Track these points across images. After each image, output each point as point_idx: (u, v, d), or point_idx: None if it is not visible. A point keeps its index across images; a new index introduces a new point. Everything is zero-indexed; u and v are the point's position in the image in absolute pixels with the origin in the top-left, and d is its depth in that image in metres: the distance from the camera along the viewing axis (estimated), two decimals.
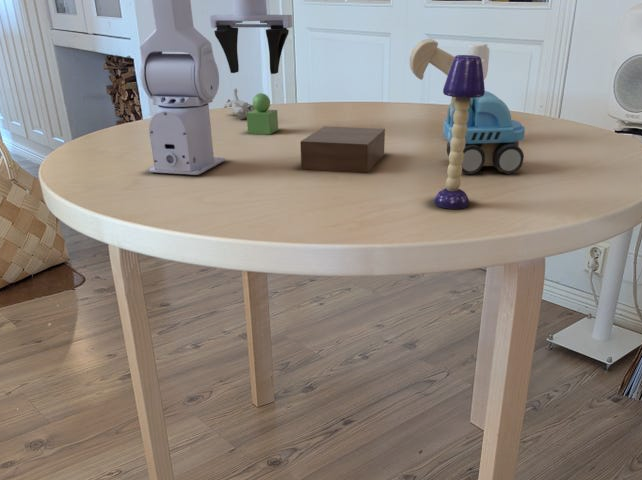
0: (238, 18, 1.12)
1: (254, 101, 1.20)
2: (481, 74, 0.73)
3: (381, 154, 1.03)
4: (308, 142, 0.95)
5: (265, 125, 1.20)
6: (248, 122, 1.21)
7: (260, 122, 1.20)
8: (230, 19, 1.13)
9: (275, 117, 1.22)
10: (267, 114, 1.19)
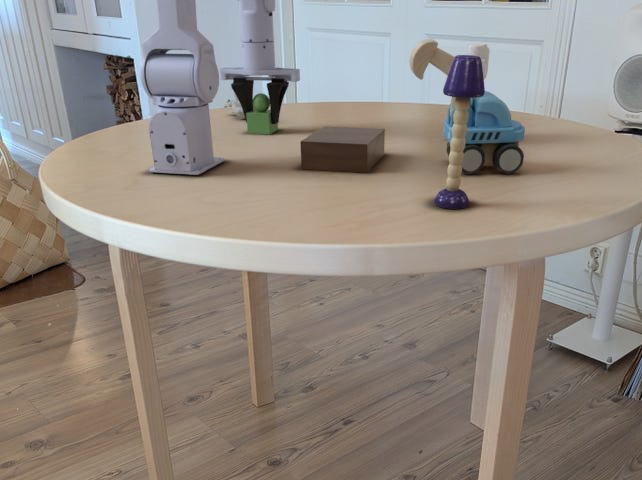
0: (247, 72, 1.16)
1: (254, 101, 1.20)
2: (481, 74, 0.73)
3: (381, 154, 1.03)
4: (308, 142, 0.95)
5: (265, 125, 1.20)
6: (248, 122, 1.21)
7: (259, 122, 1.20)
8: (240, 73, 1.17)
9: None
10: (266, 114, 1.19)
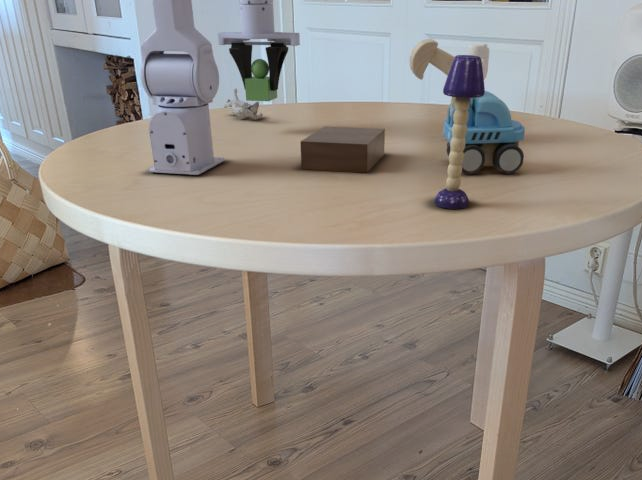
0: (246, 36, 1.13)
1: (252, 67, 1.16)
2: (481, 74, 0.73)
3: (381, 154, 1.03)
4: (308, 142, 0.95)
5: (264, 92, 1.17)
6: (246, 89, 1.18)
7: (258, 89, 1.17)
8: (238, 37, 1.14)
9: None
10: (265, 80, 1.16)
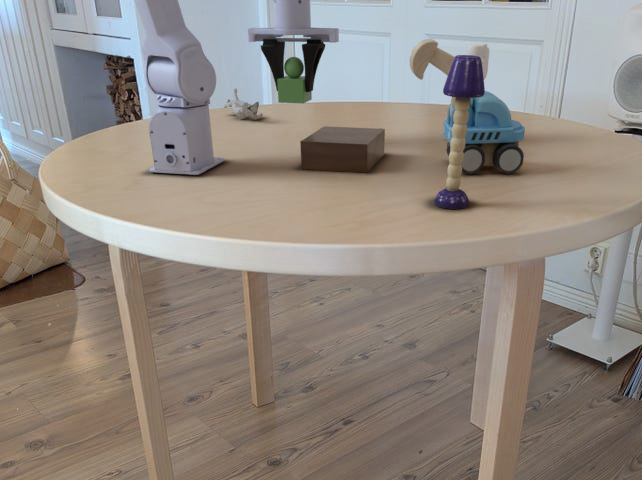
0: (280, 32, 1.02)
1: (286, 66, 1.06)
2: (481, 74, 0.73)
3: (381, 154, 1.03)
4: (308, 142, 0.95)
5: (299, 93, 1.07)
6: (279, 89, 1.07)
7: (292, 90, 1.07)
8: (271, 33, 1.03)
9: None
10: (300, 80, 1.06)
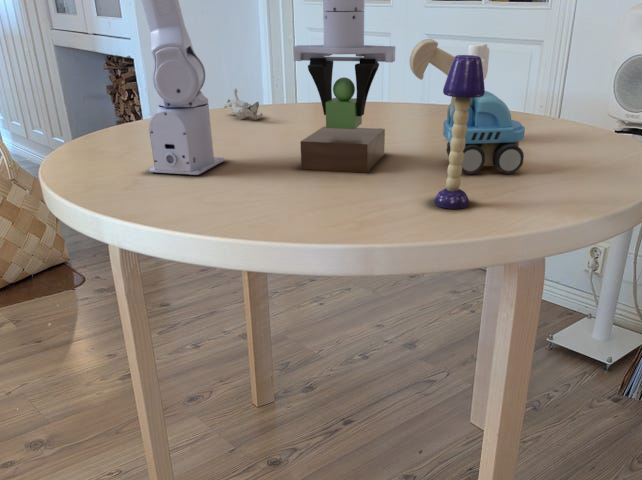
0: (331, 51, 0.92)
1: (336, 88, 0.95)
2: (481, 74, 0.73)
3: (381, 154, 1.03)
4: (308, 142, 0.95)
5: (349, 118, 0.96)
6: (327, 114, 0.97)
7: (342, 114, 0.96)
8: (320, 52, 0.93)
9: None
10: (352, 103, 0.95)
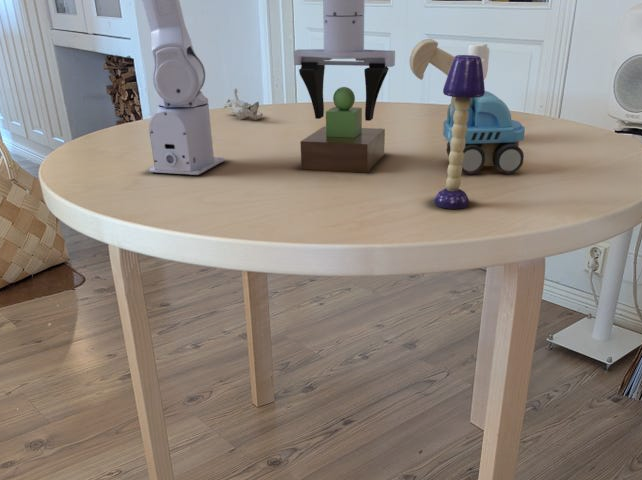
0: (331, 55, 0.92)
1: (336, 97, 0.96)
2: (481, 74, 0.73)
3: (381, 154, 1.03)
4: (308, 142, 0.95)
5: (349, 127, 0.97)
6: (327, 123, 0.97)
7: (342, 123, 0.97)
8: (320, 56, 0.93)
9: (359, 116, 0.98)
10: (352, 113, 0.96)
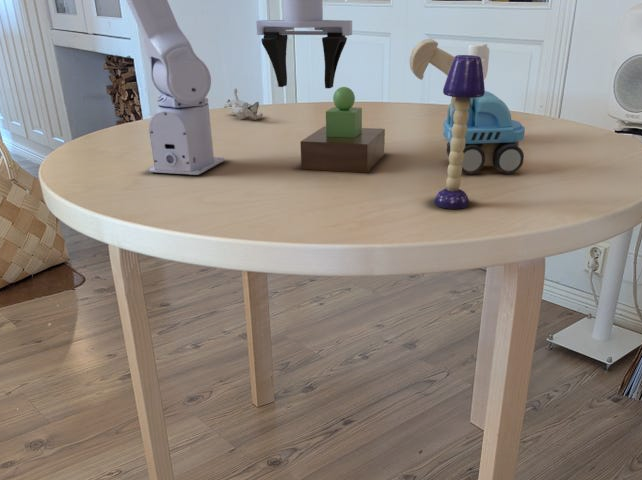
0: (290, 24, 0.97)
1: (336, 97, 0.96)
2: (481, 74, 0.73)
3: (381, 154, 1.03)
4: (308, 142, 0.95)
5: (349, 127, 0.97)
6: (327, 123, 0.97)
7: (342, 123, 0.97)
8: (280, 25, 0.98)
9: (359, 116, 0.98)
10: (352, 113, 0.96)
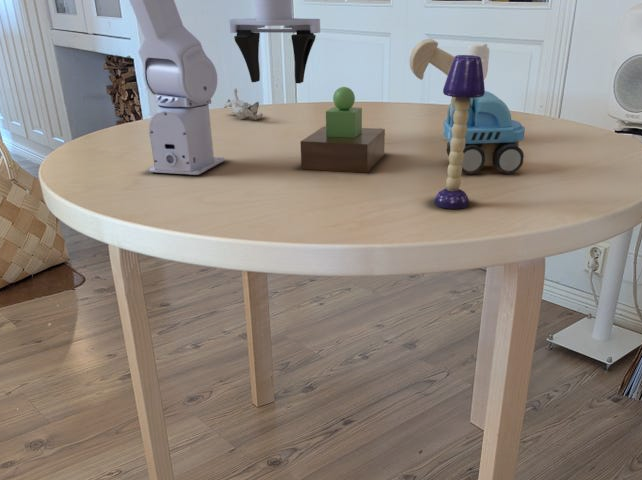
0: (261, 22, 1.02)
1: (336, 97, 0.96)
2: (481, 74, 0.73)
3: (381, 154, 1.03)
4: (308, 142, 0.95)
5: (349, 127, 0.97)
6: (327, 123, 0.97)
7: (342, 123, 0.97)
8: (252, 23, 1.03)
9: (359, 116, 0.98)
10: (352, 113, 0.96)
